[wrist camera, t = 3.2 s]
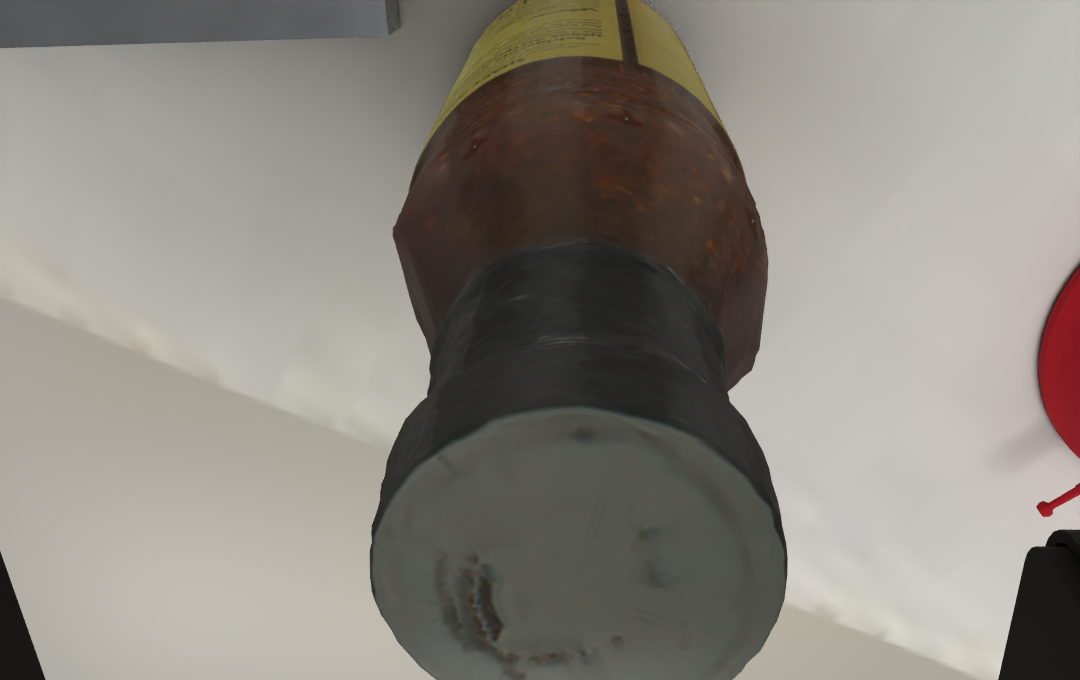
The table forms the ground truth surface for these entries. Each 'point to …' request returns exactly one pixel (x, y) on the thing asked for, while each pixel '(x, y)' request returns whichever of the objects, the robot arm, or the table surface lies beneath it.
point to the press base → (189, 21)
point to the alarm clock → (1062, 376)
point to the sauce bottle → (580, 369)
